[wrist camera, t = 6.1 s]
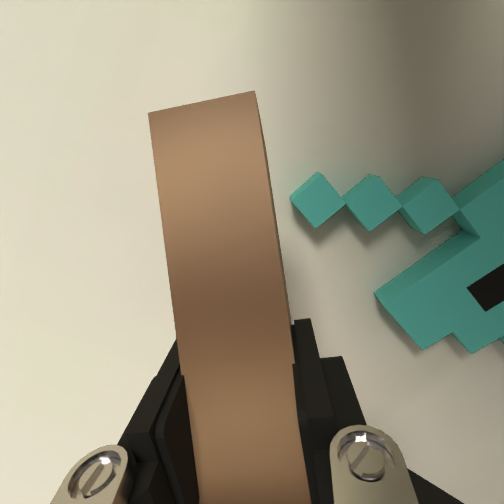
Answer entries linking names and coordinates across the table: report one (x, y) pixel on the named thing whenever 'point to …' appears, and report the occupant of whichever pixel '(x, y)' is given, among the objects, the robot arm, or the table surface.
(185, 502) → the robot arm
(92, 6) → the table surface
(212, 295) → the brown flat bar
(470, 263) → the alien figure
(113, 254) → the table surface
